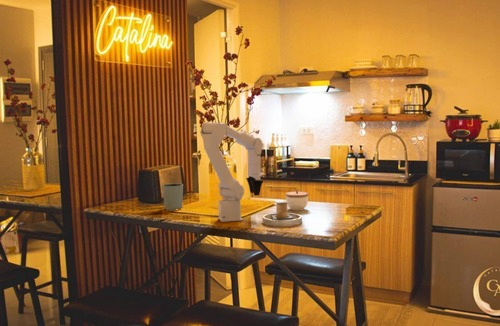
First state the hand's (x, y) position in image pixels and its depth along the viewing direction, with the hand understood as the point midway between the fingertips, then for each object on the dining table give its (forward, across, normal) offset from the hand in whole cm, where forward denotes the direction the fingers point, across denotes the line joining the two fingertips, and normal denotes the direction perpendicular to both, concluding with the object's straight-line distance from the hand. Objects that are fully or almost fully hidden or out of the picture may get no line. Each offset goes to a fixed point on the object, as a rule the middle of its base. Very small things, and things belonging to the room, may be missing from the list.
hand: (254, 194), depth 232 cm
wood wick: (+9, -20, -7) cm, 23 cm away
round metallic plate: (+9, -20, -7) cm, 23 cm away
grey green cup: (+10, +26, +35) cm, 45 cm away
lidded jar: (+10, +6, -22) cm, 25 cm away
